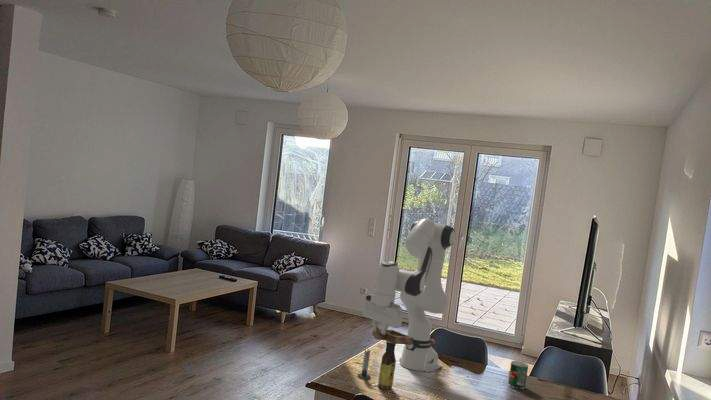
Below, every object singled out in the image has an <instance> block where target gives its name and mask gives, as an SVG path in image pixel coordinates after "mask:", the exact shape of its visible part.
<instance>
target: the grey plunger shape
mask: <svg viewBox="0 0 711 400" xmlns="http://www.w3.org/2000/svg"><path fill="white" fill-rule="evenodd" d="M370 355H371V350H370V349H365V350H364V354H363V362H362V367H361V368H362V369H361V372H360V373H357V374H356V376H357V378H358V377H359V379H360V378H361V380H371V375H370V374H368V370H369V364H370V363H369V362H370V357H371V356H370Z"/></svg>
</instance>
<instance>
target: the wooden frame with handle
mask: <svg viewBox="0 0 711 400" xmlns="http://www.w3.org/2000/svg"><path fill="white" fill-rule="evenodd" d="M372 329H373V330H372V332H371V333H372V336H373V339H374V340H375V339H376V340H378V341H386V342H387V341H388V342H390V343H393V344H396V345H405V344H406V345H412V342H413V338H412V337H410V336H407V335H408V334H404V333H402V332H399V331H396V330H394V329H389V328H387V330H386V333H385V334H381V333H380V332H381V329H382V328H379V329H376V331H374V328H372Z"/></svg>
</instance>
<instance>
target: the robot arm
mask: <svg viewBox="0 0 711 400" xmlns="http://www.w3.org/2000/svg"><path fill="white" fill-rule="evenodd" d="M455 239H456V230H455V228H454V227H453V226H452V225H445V224H443V223H441V222H440V223H439V222H435V221H433V220H431V219H429V218H422V219H420V220H416V221H414V222H413V223H412V224H411V226H410V230H409V233H408V234H407V236H406V238H405V243H404V244H405V248H406V250H407V251H408V252H407V253H409V254H410V255H411V256H413V257H414V258H416V259H418V260H419V262H418V265H417V269H416V270H413V271H412V270H406V269H403V268H400V267H399V264H398V262H396V261H393V260H384V261H381V262H380V263H379V264H378V265H379V266H378V269H377V273H376V278H375V279H376V280H375V284H376V286H375V289H374V292H373V293H371V294H370V293H369V294H365V295H364V301H363V303H362V311H361V314H362V316H363V317H365V318H367V319H371V320H372V326H373V329H374V331H376V329H381V332H380V333H381V334H385V333H386V330H387V329H389V327H391V328H394V329H398V328H399V329H400V328H401V327H402V323H403V308H402V307H401V305H400V304H396V303H395V300H396V292H397V293H398V292H399V294H400V295H399V298H400V302H401V303H403V306H404V307H405V309H406V311H407V316H408V329H407V334H406V335H407V336H410V337H412V338H413V342H412V345H406V344H403V350H402V353H401V357H399V364H400V365H401V367H404V368H406V369H409V370H413V371H418V372H424V371H425V373H431V372H434V371H435V370H438V369H441V368H442V367H443V364H442V363H441V362H439V354H438V353H437V351H436V350H435V349H434V348H433V347H432V344H433V345H434V344H435V343H436V340H435V339H433V338H431V334H432V327H433V326H432V325H433V324H432V322H431V321H430V319H429V318H428V317H427V315H426V313H425V312H428V313H430V314H438V315H439V314H444V313H446V311H447V310H448V308H449V304H450V301H449V297H448V295H447V294H446V292H445V291H444V288H443V284H442V275H443V267H444V262H445V260H446V259H445V257H446V250H447V249H449V248H450V247H451V246H452V245H453V244H454V242H455ZM379 323H380V324H382V328H380V327H379ZM440 367H441V368H440ZM433 370H434V371H433ZM430 371H431V372H430Z"/></svg>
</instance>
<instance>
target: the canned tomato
mask: <svg viewBox="0 0 711 400" xmlns="http://www.w3.org/2000/svg"><path fill="white" fill-rule="evenodd" d="M509 369H510V370H509V375H508V381H507V384H508V383H509V384H510V385H511V386H514V387H518V388H523V387H525V388H526V383H527V376H528V370H529V364H527V363H526V362H524V361H523V362H522V361H518V360H513V361H512V360H511V362H510V368H509Z"/></svg>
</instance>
